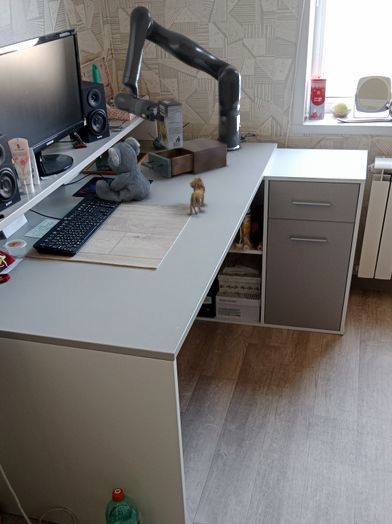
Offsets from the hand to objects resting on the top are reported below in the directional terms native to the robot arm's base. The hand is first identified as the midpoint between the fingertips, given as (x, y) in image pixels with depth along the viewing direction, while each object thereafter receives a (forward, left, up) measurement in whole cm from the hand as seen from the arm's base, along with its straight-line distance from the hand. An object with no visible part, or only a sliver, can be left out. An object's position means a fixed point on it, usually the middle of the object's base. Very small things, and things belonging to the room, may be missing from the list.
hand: (171, 117), depth 215 cm
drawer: (+2, 0, -20) cm, 20 cm away
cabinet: (-13, 0, -21) cm, 25 cm away
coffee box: (0, -1, -11) cm, 11 cm away
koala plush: (+29, +11, -21) cm, 37 cm away
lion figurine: (+17, +37, -21) cm, 46 cm away
